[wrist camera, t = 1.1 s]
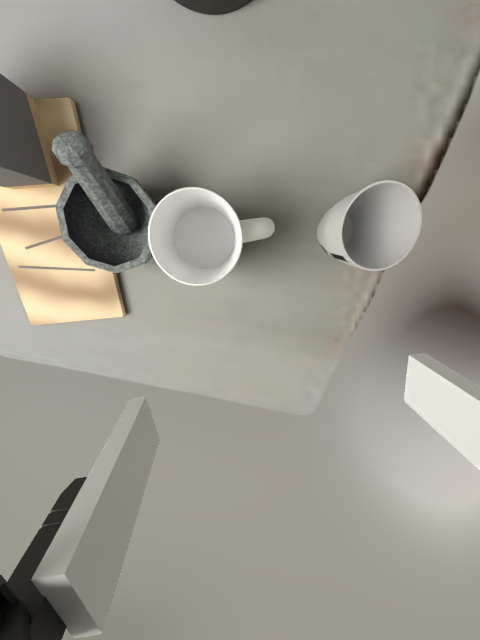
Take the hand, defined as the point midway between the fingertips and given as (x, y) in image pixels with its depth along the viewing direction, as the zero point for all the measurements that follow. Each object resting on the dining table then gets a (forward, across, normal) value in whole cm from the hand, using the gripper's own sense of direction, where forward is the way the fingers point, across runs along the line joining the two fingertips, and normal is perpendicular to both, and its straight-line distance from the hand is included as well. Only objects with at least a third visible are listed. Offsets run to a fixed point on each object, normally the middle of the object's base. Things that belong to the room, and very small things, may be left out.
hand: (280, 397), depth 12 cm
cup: (+24, +13, +6) cm, 28 cm away
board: (+24, -22, +12) cm, 34 cm away
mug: (+24, -2, +8) cm, 25 cm away
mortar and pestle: (+24, -12, +11) cm, 29 cm away
